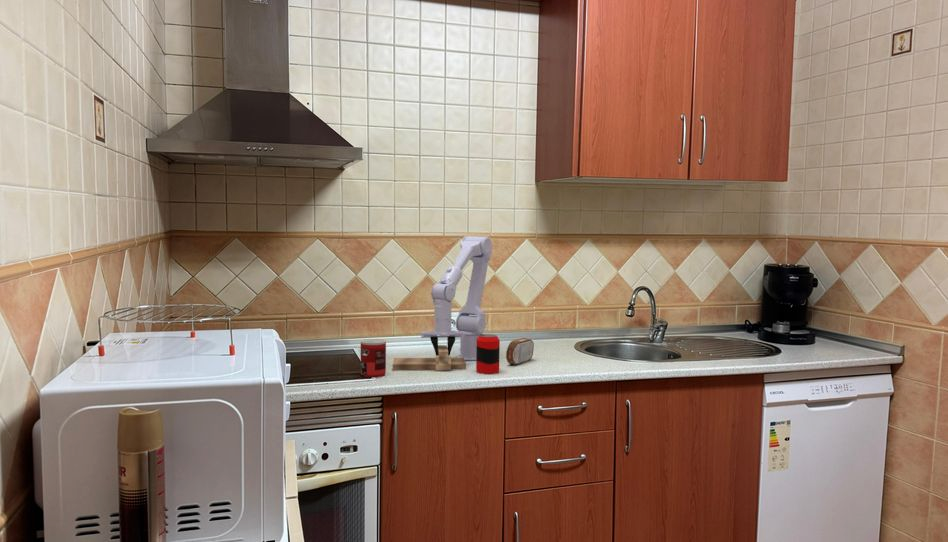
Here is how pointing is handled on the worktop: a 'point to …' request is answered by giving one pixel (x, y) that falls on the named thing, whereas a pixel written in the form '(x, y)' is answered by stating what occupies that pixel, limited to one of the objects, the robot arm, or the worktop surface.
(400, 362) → the board
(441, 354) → the wooden block
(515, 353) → the tin
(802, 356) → the worktop surface
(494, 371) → the soda can
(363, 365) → the canned food
